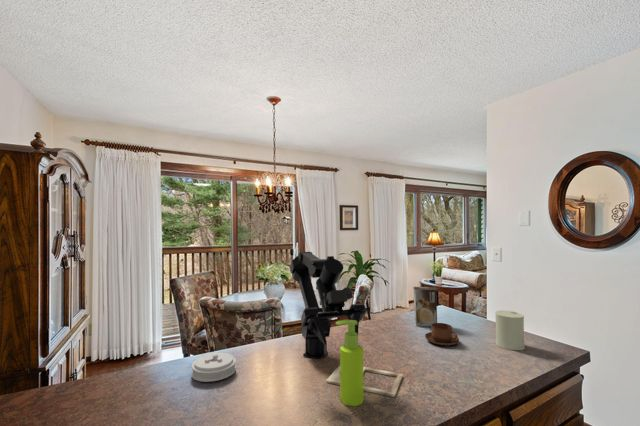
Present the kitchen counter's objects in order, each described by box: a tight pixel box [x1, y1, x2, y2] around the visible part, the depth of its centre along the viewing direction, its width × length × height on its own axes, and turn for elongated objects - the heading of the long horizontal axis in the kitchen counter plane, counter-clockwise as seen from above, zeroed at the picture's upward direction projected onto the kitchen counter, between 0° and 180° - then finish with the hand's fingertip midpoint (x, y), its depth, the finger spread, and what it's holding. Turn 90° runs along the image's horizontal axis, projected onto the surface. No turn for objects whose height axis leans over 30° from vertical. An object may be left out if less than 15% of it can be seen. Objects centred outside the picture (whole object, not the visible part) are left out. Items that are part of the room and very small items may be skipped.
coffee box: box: [413, 286, 438, 327], centre depth 142 cm, size 9×6×16 cm
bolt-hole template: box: [326, 364, 404, 398], centre depth 92 cm, size 19×12×1 cm, turn 66°
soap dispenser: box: [335, 319, 365, 407], centre depth 82 cm, size 6×7×20 cm
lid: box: [191, 352, 237, 383], centre depth 96 cm, size 13×13×5 cm
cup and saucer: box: [424, 322, 460, 346], centre depth 121 cm, size 12×12×6 cm
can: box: [494, 310, 526, 351], centre depth 118 cm, size 9×9×12 cm
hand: (341, 342), depth 87 cm, fingers open, 9 cm apart
